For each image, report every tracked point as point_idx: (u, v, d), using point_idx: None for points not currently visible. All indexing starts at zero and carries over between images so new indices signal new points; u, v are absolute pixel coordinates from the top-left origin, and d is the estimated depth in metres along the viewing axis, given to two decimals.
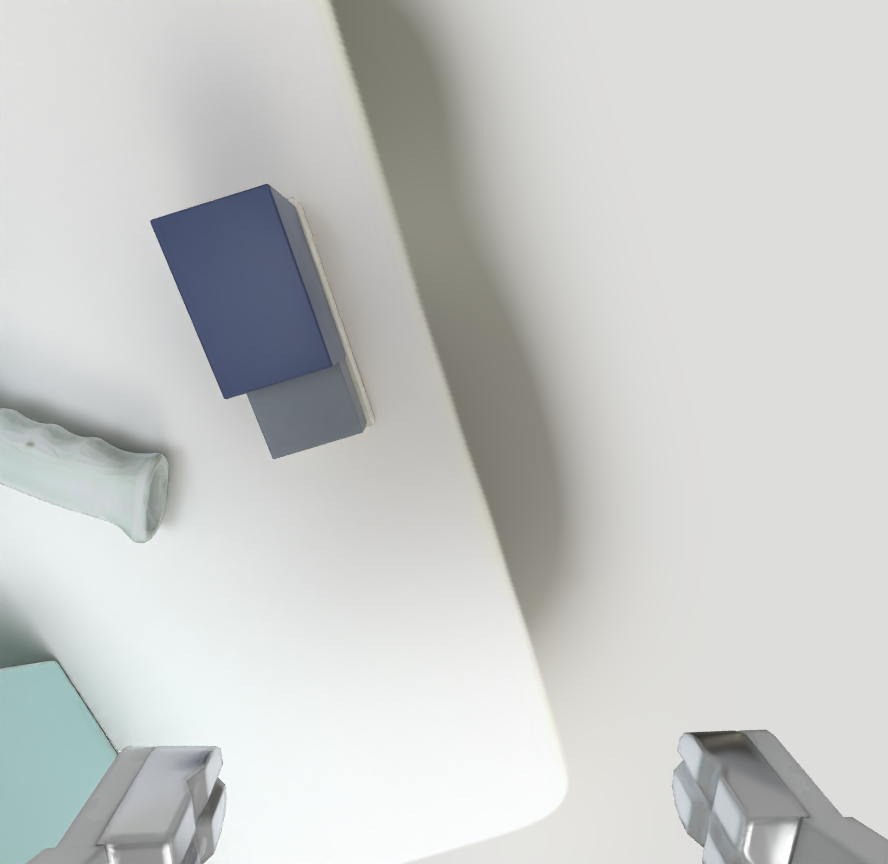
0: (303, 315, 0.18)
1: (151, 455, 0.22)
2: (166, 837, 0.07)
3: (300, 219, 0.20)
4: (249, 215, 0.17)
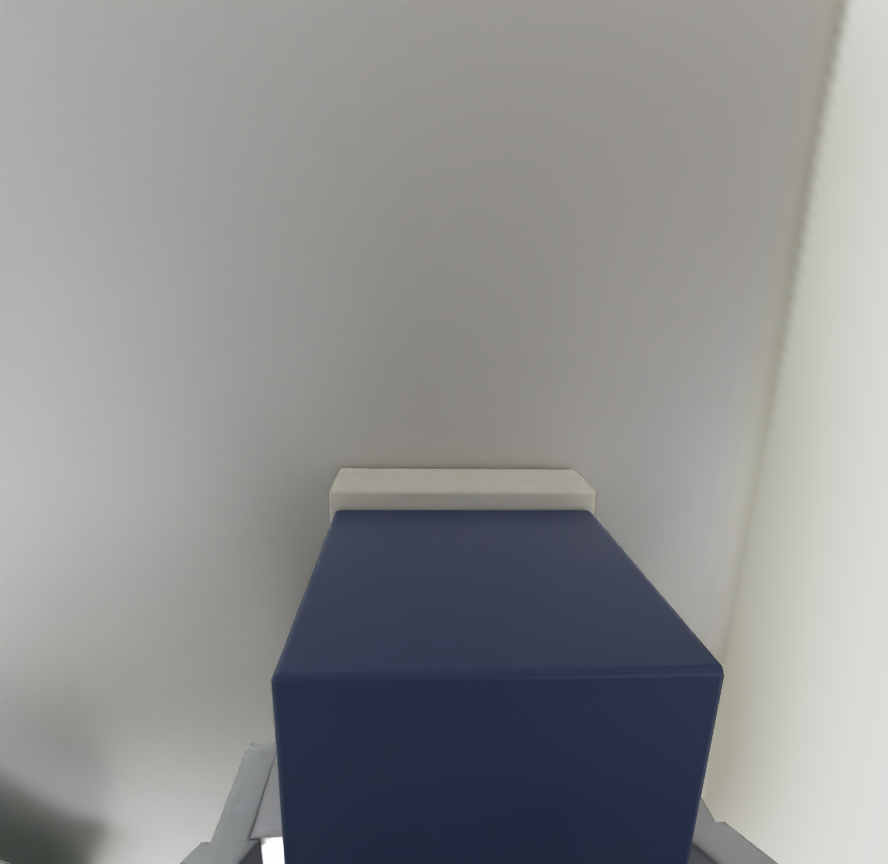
0: None
1: None
2: None
3: None
4: (618, 741, 0.05)
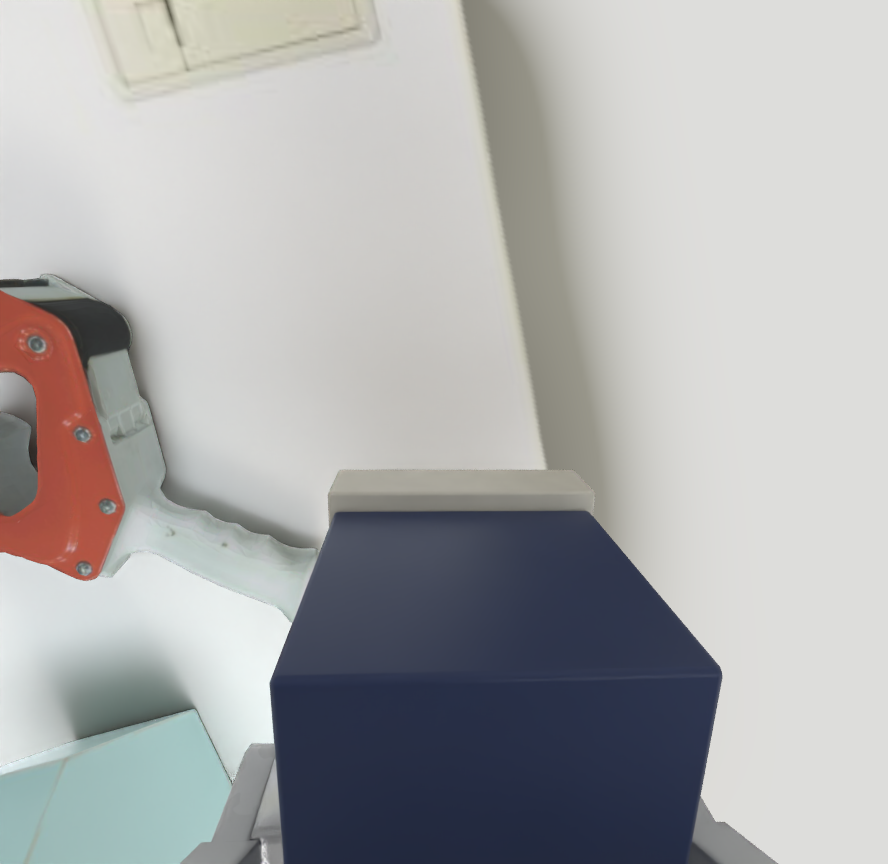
0: None
1: (312, 552, 0.26)
2: None
3: None
4: (616, 742, 0.05)
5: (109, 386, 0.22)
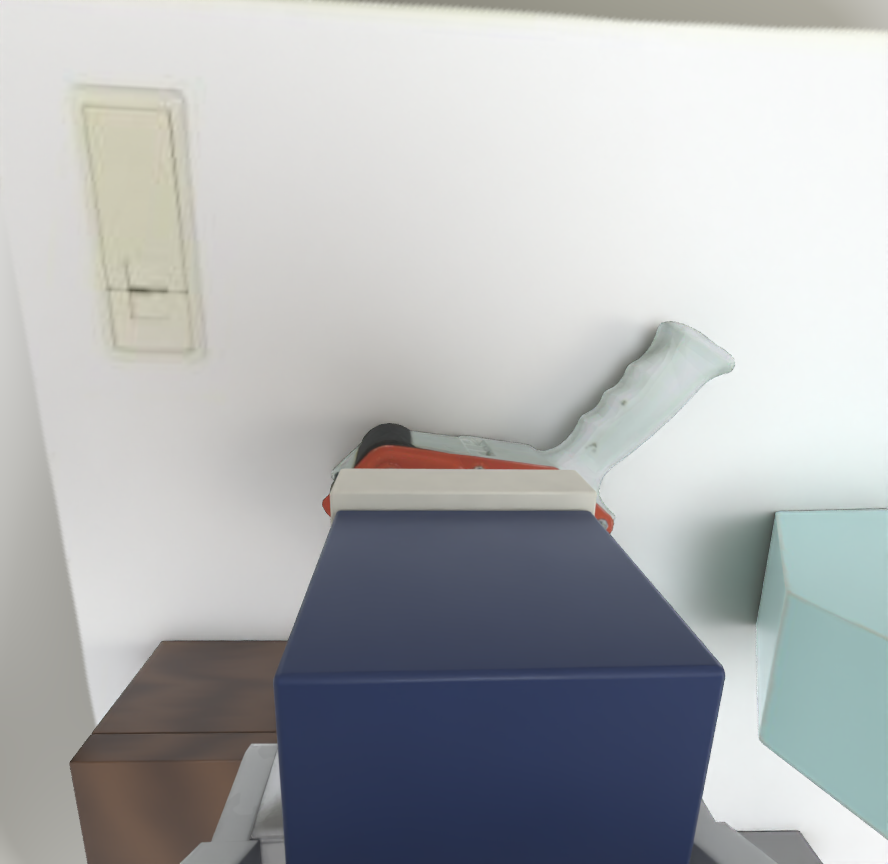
0: None
1: (663, 325, 0.24)
2: None
3: None
4: (619, 740, 0.05)
5: (440, 444, 0.23)
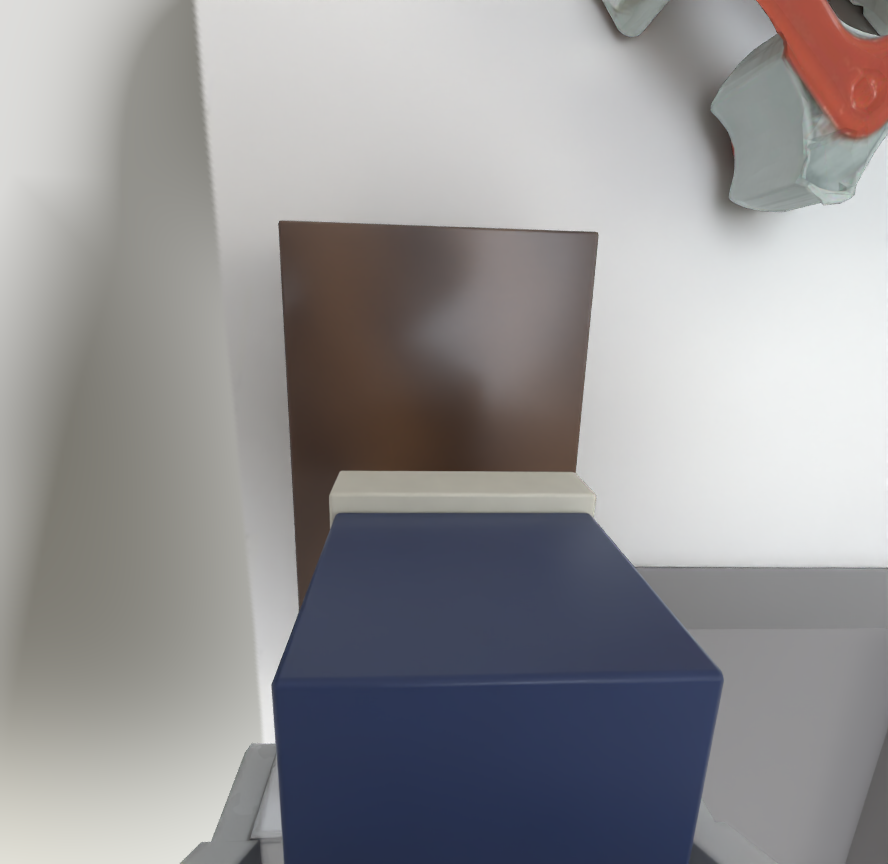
0: None
1: None
2: None
3: None
4: (618, 745, 0.05)
5: None
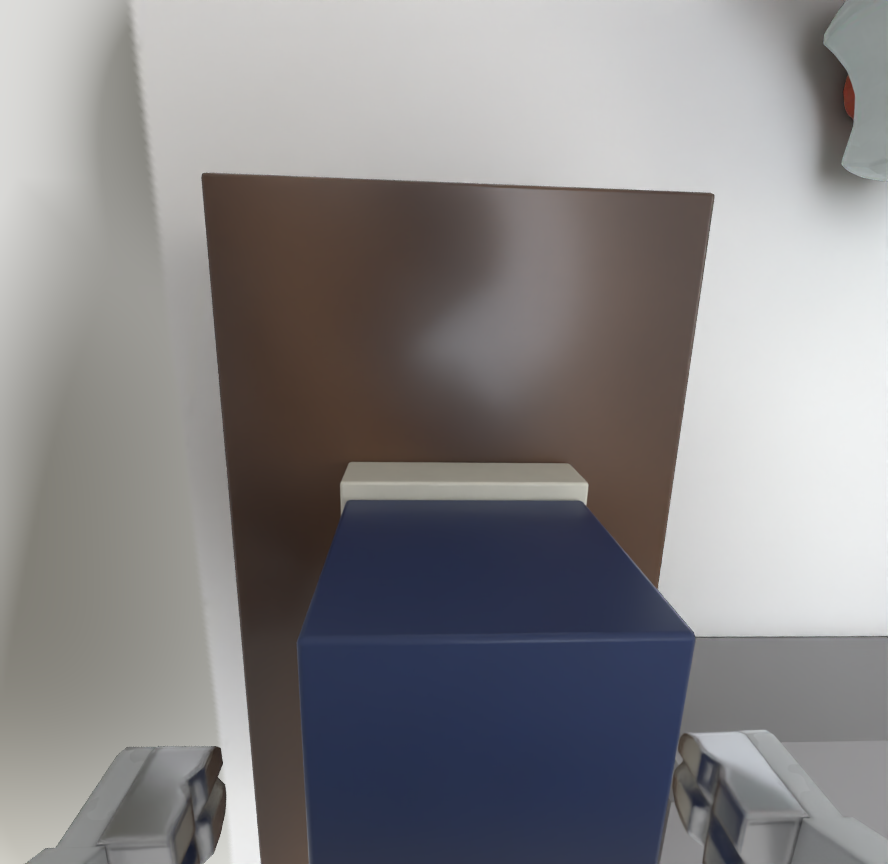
0: None
1: None
2: (166, 837, 0.07)
3: None
4: (602, 699, 0.05)
5: None
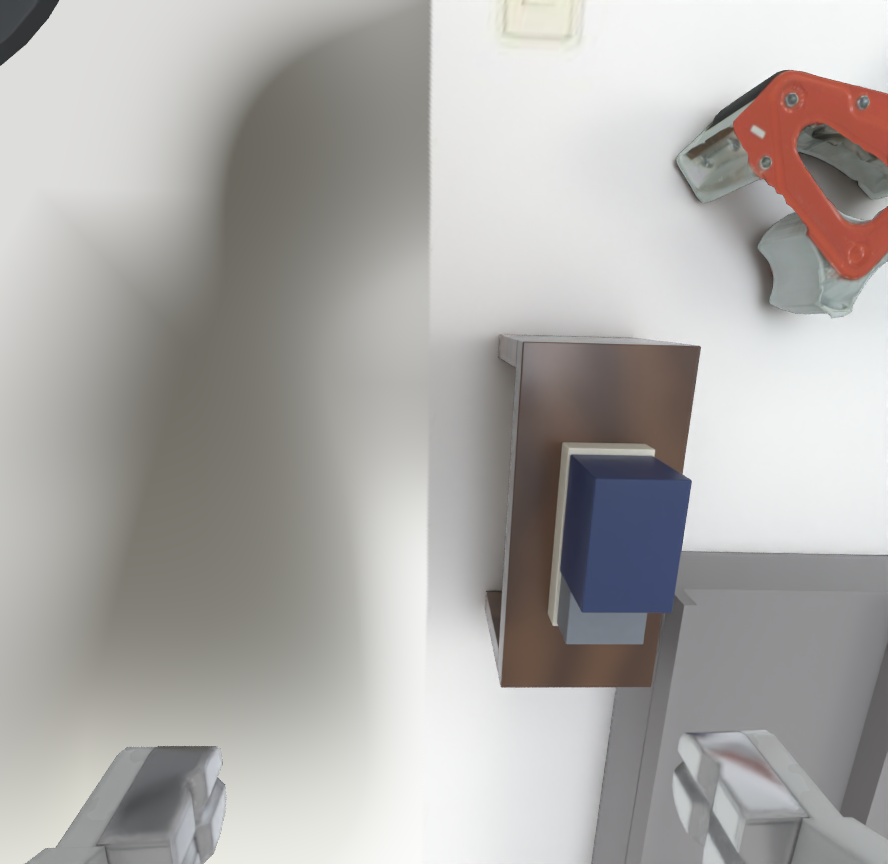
0: (670, 573, 0.22)
1: None
2: (166, 837, 0.07)
3: None
4: (668, 497, 0.21)
5: None
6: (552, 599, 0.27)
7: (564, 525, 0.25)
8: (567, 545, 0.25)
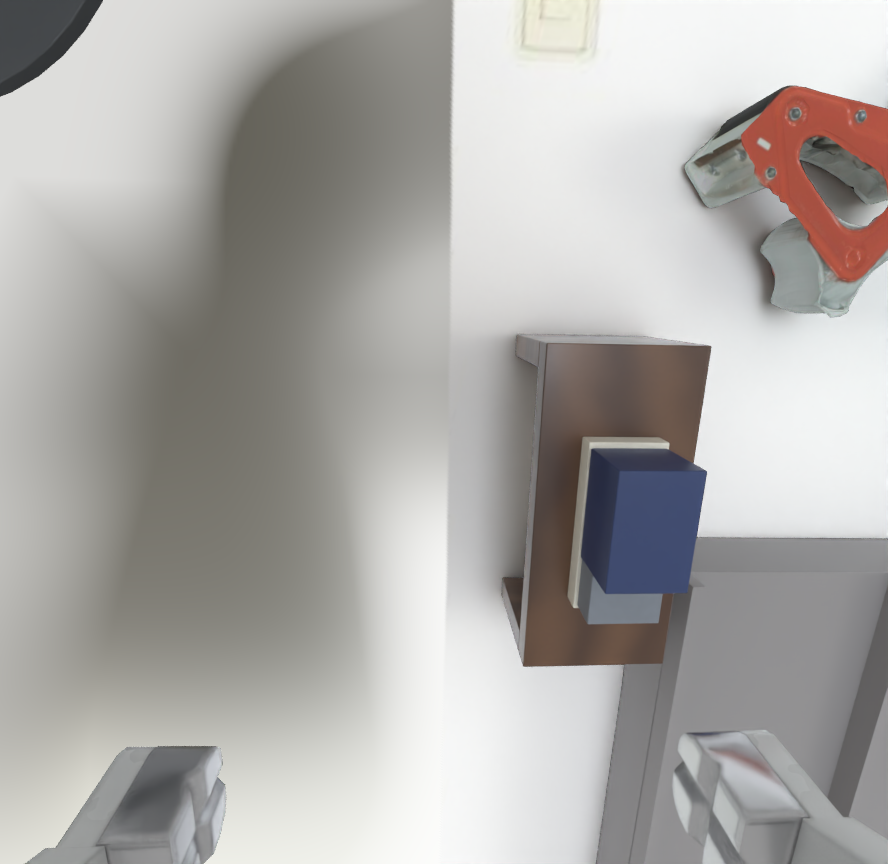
0: (686, 557, 0.24)
1: None
2: (166, 837, 0.07)
3: None
4: (685, 486, 0.23)
5: None
6: (572, 583, 0.29)
7: (585, 514, 0.27)
8: (588, 532, 0.27)
